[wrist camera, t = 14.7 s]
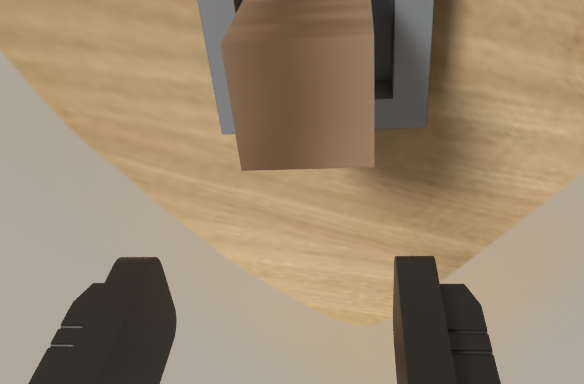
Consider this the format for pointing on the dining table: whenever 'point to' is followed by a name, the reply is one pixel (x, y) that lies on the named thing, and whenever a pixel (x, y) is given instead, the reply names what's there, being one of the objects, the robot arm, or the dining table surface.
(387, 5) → the gray pocket tray
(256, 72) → the walnut block
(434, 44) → the dining table surface
